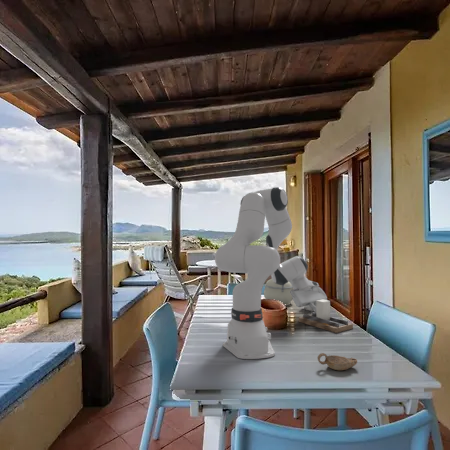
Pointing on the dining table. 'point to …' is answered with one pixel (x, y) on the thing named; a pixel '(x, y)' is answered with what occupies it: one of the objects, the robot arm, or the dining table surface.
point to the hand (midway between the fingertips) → (318, 311)
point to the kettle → (278, 291)
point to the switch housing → (326, 323)
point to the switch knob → (323, 309)
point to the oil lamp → (338, 362)
